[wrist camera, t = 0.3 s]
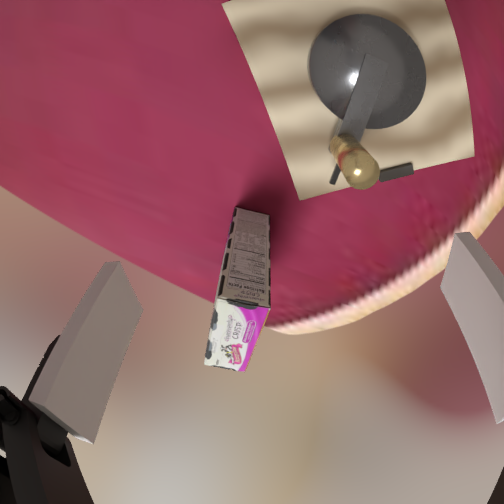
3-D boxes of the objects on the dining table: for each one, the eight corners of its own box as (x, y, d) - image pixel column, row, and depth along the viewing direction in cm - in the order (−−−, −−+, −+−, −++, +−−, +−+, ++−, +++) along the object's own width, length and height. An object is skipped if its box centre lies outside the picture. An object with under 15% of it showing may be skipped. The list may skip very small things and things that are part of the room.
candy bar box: (254, 277, 45) (246, 374, 32) (220, 270, 44) (201, 366, 31) (273, 213, 38) (272, 310, 25) (234, 204, 38) (213, 298, 25)
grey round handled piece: (325, 0, 21) (346, -21, 13) (428, 47, 22) (477, 51, 14) (275, 158, 31) (276, 194, 24) (373, 188, 33) (400, 231, 25)
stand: (224, 7, 23) (220, 2, 21) (425, -27, 17) (435, -32, 15) (298, 193, 36) (300, 204, 34) (466, 151, 30) (477, 158, 28)
